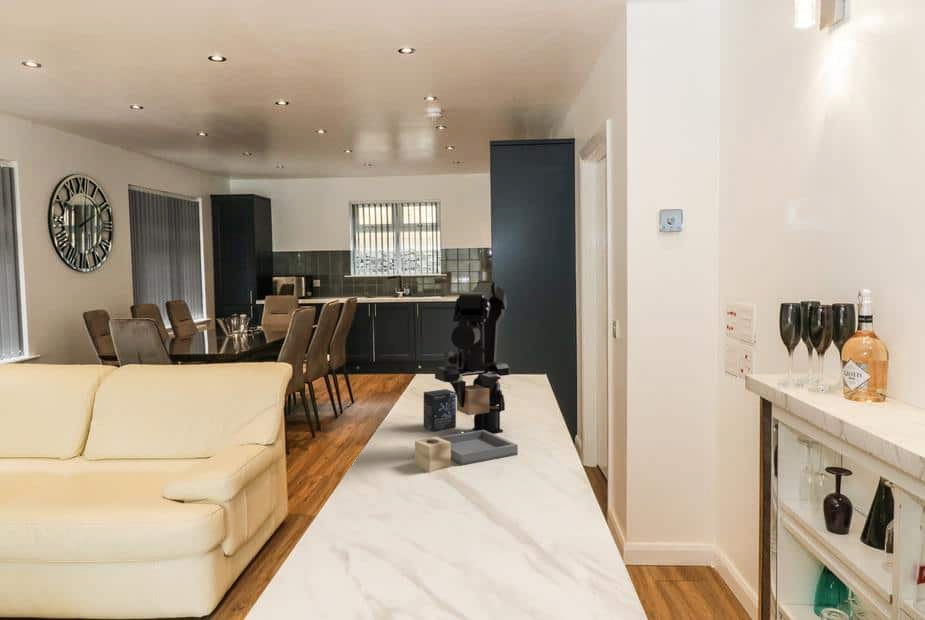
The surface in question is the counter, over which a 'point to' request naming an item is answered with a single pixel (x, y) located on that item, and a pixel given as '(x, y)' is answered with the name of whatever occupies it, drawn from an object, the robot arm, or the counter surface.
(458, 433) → the rod
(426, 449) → the block
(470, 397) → the block
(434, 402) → the box
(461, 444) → the tray
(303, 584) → the counter surface
